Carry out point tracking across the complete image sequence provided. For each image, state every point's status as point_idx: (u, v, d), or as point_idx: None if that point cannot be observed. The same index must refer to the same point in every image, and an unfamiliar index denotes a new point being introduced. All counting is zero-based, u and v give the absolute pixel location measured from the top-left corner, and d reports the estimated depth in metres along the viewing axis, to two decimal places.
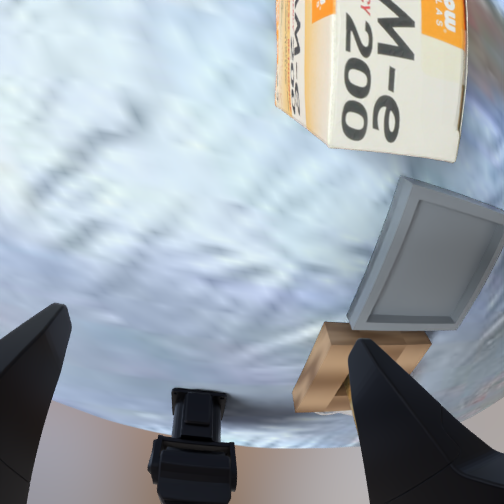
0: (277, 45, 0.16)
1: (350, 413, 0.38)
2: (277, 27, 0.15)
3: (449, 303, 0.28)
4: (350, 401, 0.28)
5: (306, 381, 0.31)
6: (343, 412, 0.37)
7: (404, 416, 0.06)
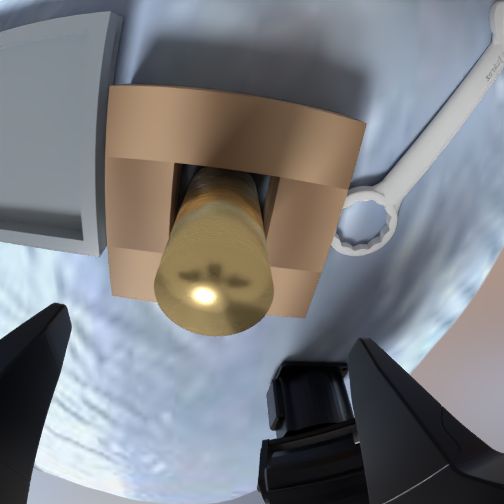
0: None
1: (412, 175, 0.17)
2: None
3: (67, 59, 0.12)
4: None
5: None
6: (399, 193, 0.17)
7: (404, 416, 0.06)
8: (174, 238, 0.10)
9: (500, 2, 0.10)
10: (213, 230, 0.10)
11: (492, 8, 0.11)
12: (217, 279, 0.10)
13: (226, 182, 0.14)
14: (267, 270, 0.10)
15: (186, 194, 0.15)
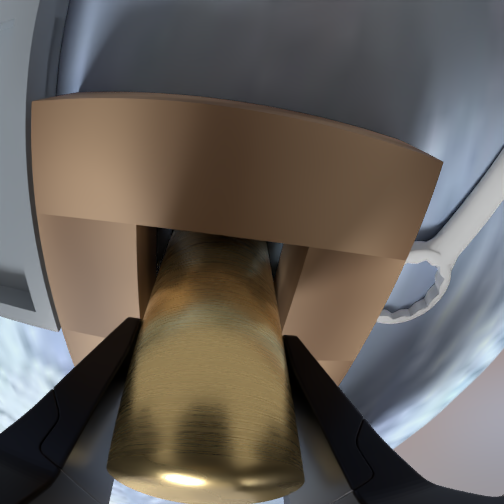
0: None
1: (474, 227, 0.12)
2: None
3: None
4: None
5: None
6: (458, 250, 0.12)
7: (313, 425, 0.06)
8: (129, 406, 0.05)
9: None
10: (196, 417, 0.04)
11: None
12: (209, 481, 0.05)
13: (221, 260, 0.09)
14: (297, 472, 0.04)
15: (160, 269, 0.10)
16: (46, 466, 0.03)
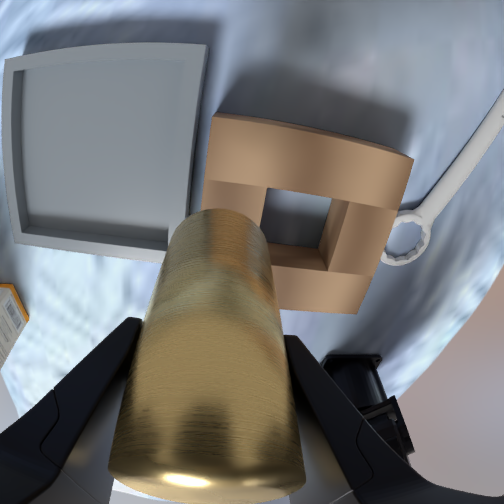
0: None
1: (442, 201, 0.20)
2: None
3: (155, 83, 0.16)
4: None
5: None
6: (433, 215, 0.21)
7: (313, 425, 0.06)
8: (130, 406, 0.05)
9: None
10: (198, 417, 0.04)
11: None
12: (210, 480, 0.05)
13: (222, 260, 0.09)
14: (298, 472, 0.04)
15: (161, 269, 0.10)
16: (46, 466, 0.03)
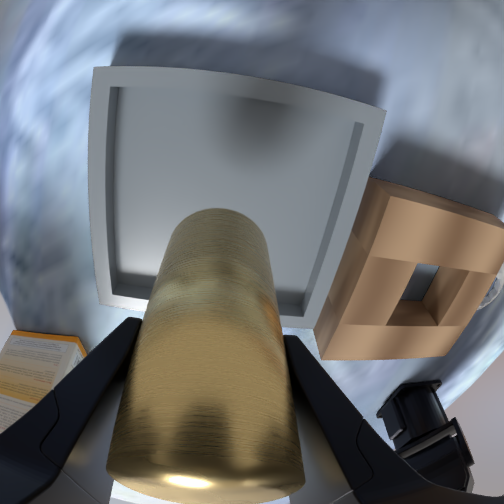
0: None
1: None
2: None
3: (316, 138, 0.15)
4: None
5: None
6: None
7: (313, 425, 0.06)
8: (128, 407, 0.05)
9: None
10: (196, 418, 0.04)
11: None
12: (209, 481, 0.04)
13: (222, 260, 0.08)
14: (298, 472, 0.04)
15: (160, 269, 0.09)
16: (45, 466, 0.03)
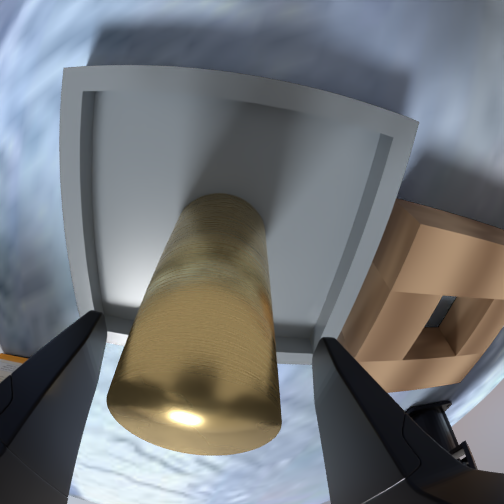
0: None
1: None
2: None
3: (334, 153, 0.12)
4: None
5: None
6: None
7: (361, 422, 0.06)
8: (132, 342, 0.06)
9: None
10: (186, 344, 0.06)
11: None
12: (195, 412, 0.06)
13: (220, 232, 0.10)
14: (272, 405, 0.06)
15: (167, 242, 0.11)
16: None
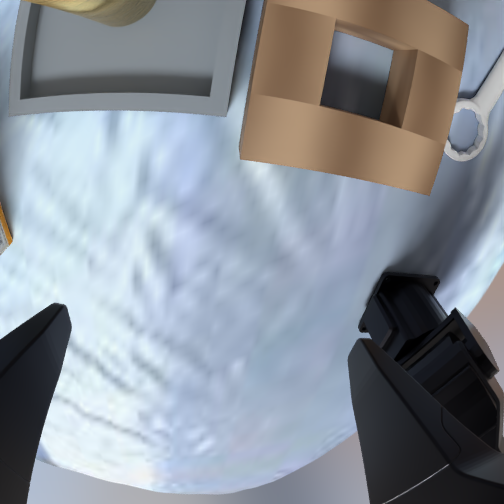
0: None
1: (495, 93, 0.15)
2: None
3: None
4: (88, 10, 0.08)
5: None
6: (488, 107, 0.16)
7: (404, 416, 0.06)
8: None
9: None
10: None
11: None
12: None
13: None
14: None
15: None
16: None
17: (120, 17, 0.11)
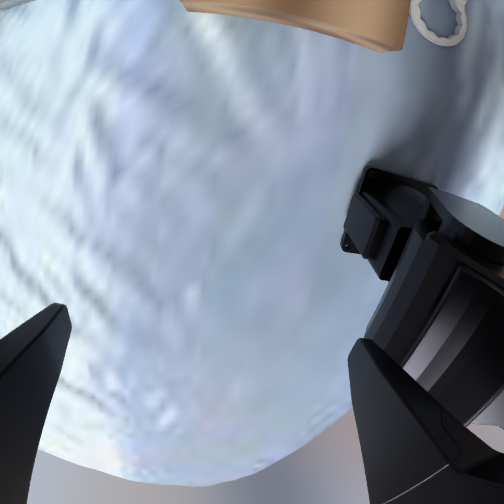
0: None
1: None
2: None
3: None
4: None
5: (314, 24, 0.13)
6: None
7: (404, 416, 0.06)
8: None
9: None
10: None
11: None
12: None
13: None
14: None
15: None
16: None
17: None
